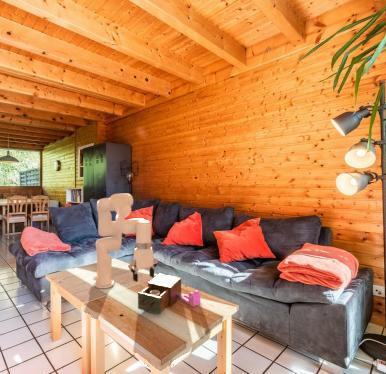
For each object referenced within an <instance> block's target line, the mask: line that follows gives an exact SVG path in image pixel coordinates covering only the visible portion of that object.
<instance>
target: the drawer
mask: <svg viewBox="0 0 386 374" xmlns="http://www.w3.org/2000/svg"><path fill="white" fill-rule="evenodd" d="M152 290H158V291H160V297H158V296H154V295H150V291H152ZM169 303H170V289H168V288H164V287H159V286H155V285H149V286H148V285H147V286H146V287H145V288H144V289H143V290H141V291H138V292H137V309H138V310H141V311H146V312H149V313H152V314H156V315H159V316H161V315H162V311H164V309H165V308H166V307H167V306H168V304H169Z"/></svg>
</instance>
